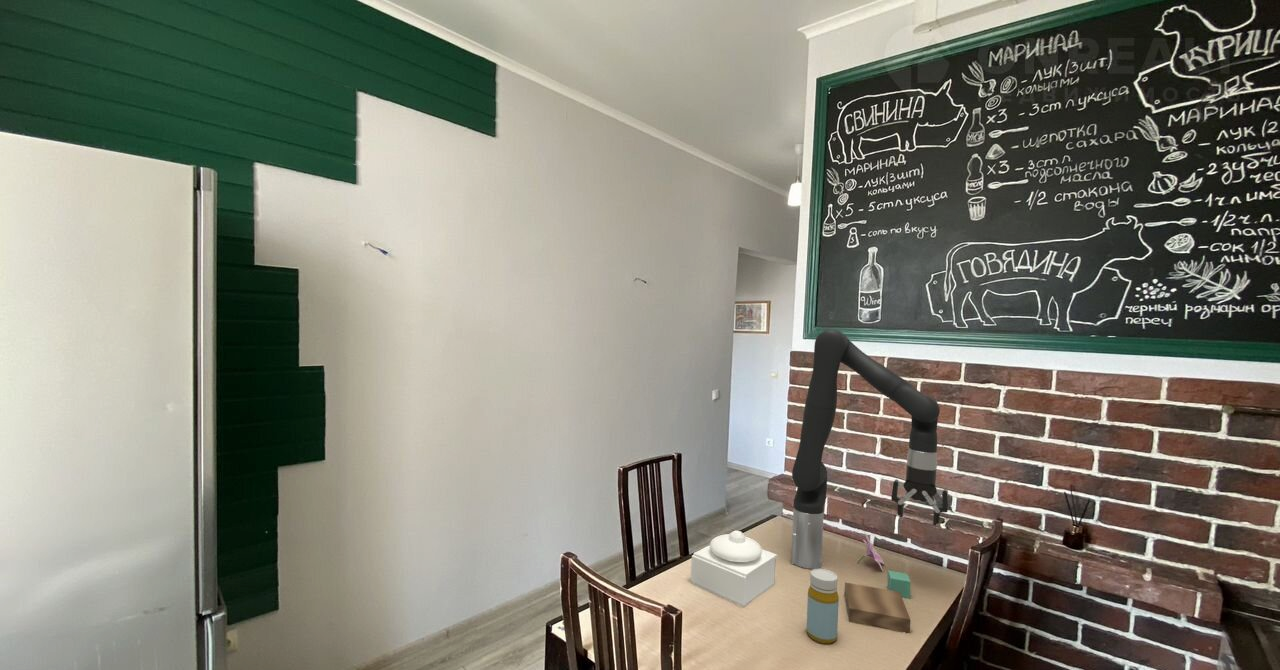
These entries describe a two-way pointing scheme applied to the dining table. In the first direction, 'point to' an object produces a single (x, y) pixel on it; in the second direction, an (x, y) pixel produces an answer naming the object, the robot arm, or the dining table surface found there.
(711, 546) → the butter dish
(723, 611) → the dining table surface
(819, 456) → the robot arm
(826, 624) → the bottle
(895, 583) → the green cube
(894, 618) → the walnut base
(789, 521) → the dining table surface
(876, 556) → the lily
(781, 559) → the dining table surface
